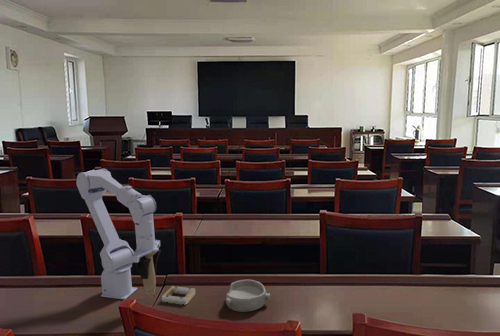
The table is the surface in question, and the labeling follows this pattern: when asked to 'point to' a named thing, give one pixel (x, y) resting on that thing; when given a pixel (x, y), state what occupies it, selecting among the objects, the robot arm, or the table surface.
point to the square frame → (179, 290)
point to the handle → (150, 276)
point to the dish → (246, 295)
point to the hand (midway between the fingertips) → (148, 275)
